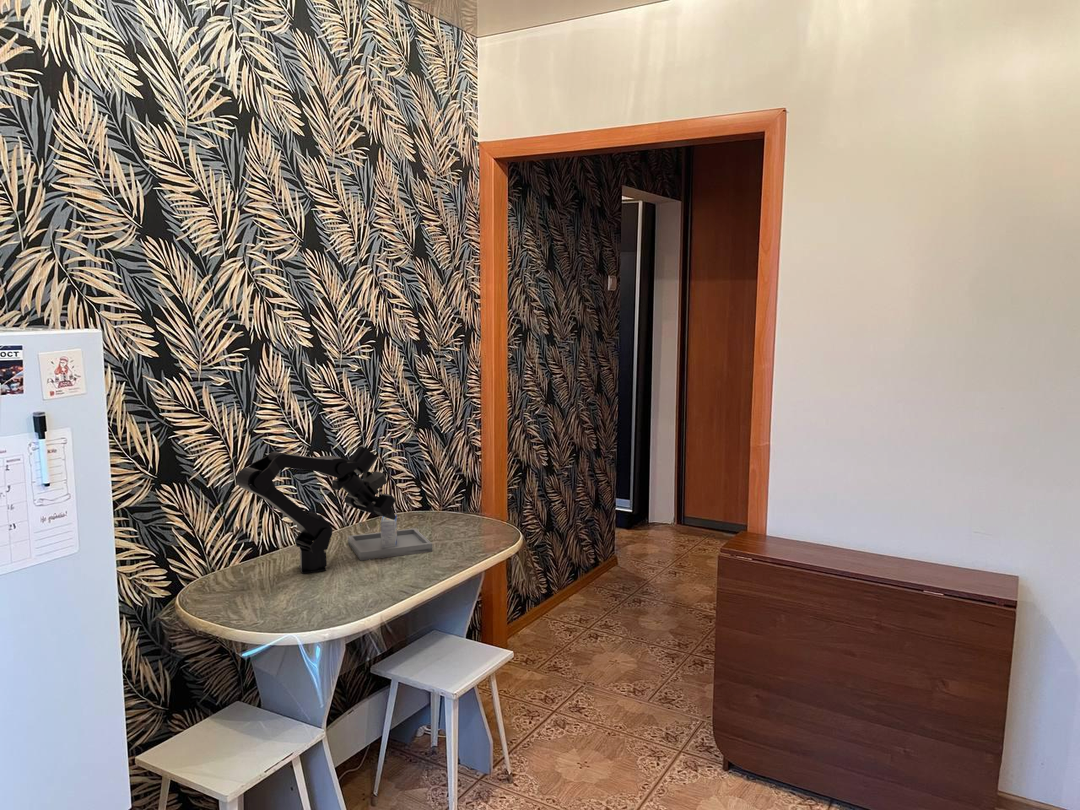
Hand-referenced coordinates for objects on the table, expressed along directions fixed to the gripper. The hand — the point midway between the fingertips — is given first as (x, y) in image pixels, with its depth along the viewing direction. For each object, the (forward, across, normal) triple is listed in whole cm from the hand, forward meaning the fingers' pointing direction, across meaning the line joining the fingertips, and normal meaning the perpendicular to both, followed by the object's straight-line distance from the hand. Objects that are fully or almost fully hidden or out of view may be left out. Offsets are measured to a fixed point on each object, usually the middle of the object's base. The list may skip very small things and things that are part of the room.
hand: (385, 515), depth 231 cm
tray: (+8, 0, +6) cm, 11 cm away
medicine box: (+8, 0, +6) cm, 10 cm away
